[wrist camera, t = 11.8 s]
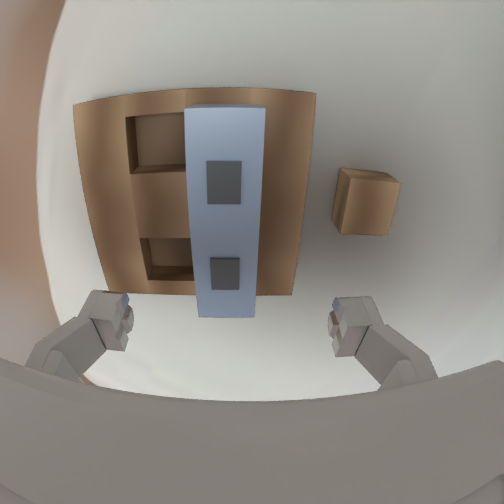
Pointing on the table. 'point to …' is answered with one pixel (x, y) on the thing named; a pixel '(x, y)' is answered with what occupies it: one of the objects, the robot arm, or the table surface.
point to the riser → (365, 202)
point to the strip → (224, 204)
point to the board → (184, 185)
